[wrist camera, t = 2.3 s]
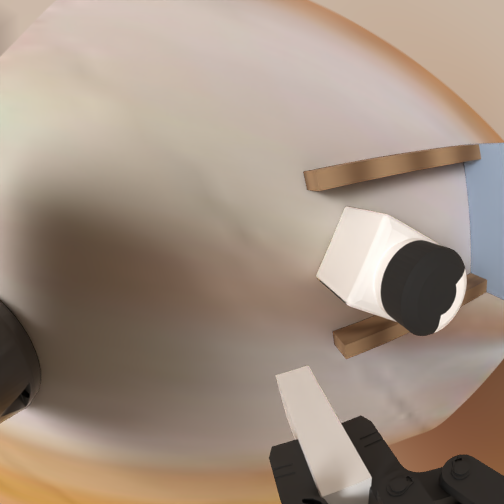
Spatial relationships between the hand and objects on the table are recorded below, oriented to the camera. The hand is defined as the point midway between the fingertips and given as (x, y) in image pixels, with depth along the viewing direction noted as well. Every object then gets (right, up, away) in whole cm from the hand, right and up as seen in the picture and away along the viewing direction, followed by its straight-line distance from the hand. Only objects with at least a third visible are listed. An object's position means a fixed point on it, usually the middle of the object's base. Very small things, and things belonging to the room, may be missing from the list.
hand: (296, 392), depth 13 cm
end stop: (+24, +11, +17) cm, 31 cm away
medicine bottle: (+8, +6, +15) cm, 18 cm away
